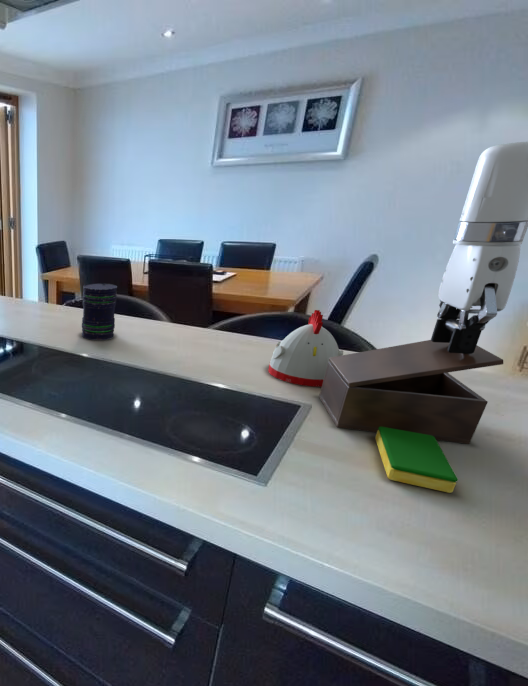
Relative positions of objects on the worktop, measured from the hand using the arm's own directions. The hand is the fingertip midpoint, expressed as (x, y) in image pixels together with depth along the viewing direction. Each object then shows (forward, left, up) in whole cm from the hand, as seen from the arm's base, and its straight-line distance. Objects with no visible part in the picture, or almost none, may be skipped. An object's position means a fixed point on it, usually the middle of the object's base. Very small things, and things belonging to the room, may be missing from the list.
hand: (451, 346), depth 74 cm
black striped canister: (+66, -38, -15) cm, 78 cm away
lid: (+5, 0, -4) cm, 6 cm away
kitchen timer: (+15, -20, -15) cm, 29 cm away
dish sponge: (+7, +16, -15) cm, 23 cm away
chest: (+5, 0, -15) cm, 15 cm away
